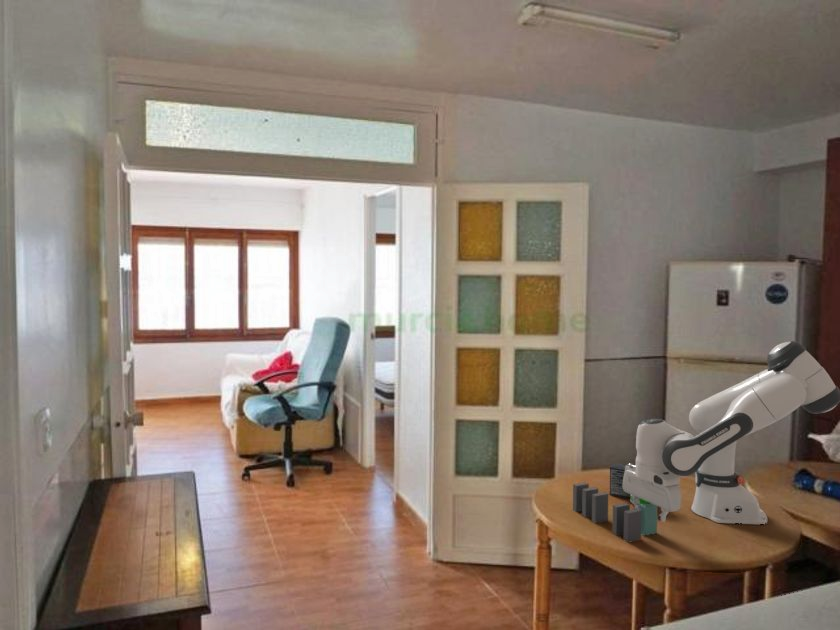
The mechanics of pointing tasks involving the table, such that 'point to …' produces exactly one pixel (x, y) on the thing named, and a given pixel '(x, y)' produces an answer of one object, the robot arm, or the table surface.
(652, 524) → the domino
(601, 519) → the domino
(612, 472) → the small box
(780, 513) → the table surface
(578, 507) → the domino
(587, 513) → the domino
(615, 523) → the domino
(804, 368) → the robot arm
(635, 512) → the domino
